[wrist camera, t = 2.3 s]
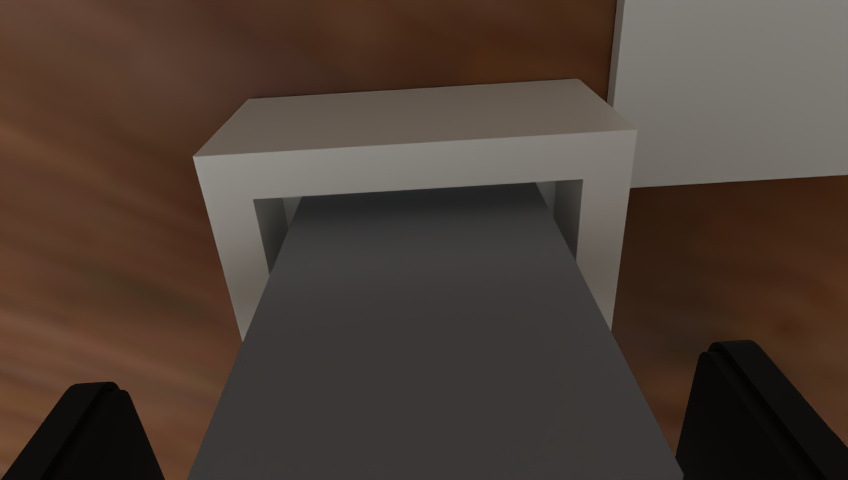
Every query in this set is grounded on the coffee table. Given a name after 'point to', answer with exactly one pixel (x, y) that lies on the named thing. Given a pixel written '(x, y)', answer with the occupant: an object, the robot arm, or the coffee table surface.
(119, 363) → the coffee table surface
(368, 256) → the block
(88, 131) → the coffee table surface
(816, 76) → the felt pad
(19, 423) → the coffee table surface
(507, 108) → the power strip
